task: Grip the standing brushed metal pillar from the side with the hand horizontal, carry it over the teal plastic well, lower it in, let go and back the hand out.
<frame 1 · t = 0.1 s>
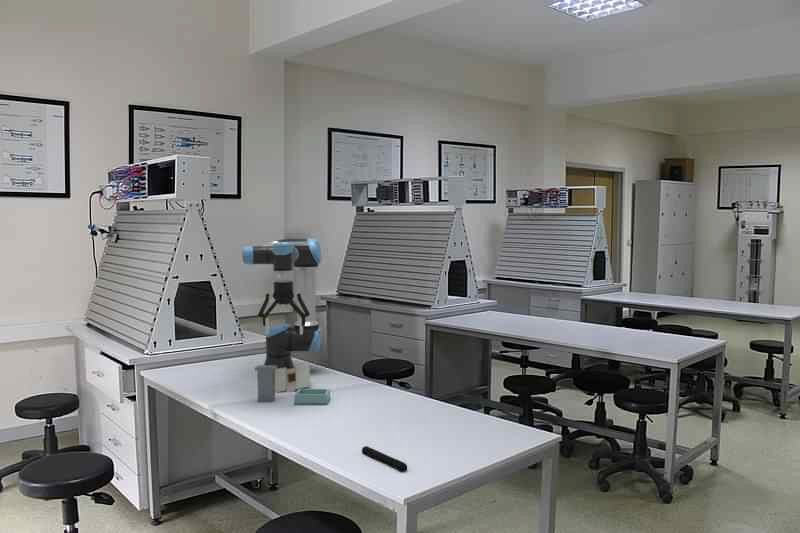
hand: (284, 334, 243), 28 cm above the table, tool pointing down, fingers open, 13 cm apart
wall: (292, 388, 267), on the table
well: (312, 401, 247), on the table
brushed metal pillar: (266, 400, 249), on the table
gadget: (383, 463, 185), on the table
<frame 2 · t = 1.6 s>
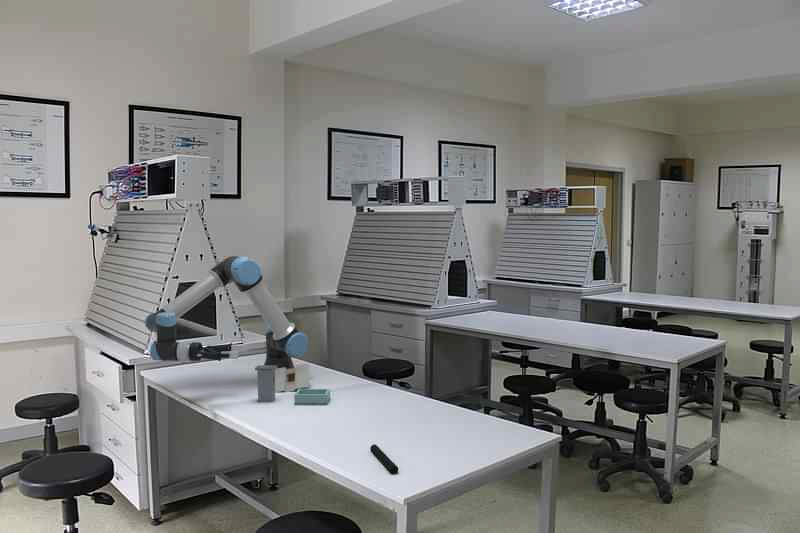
hand: (242, 351, 247), 20 cm above the table, tool horizontal, fingers open, 13 cm apart
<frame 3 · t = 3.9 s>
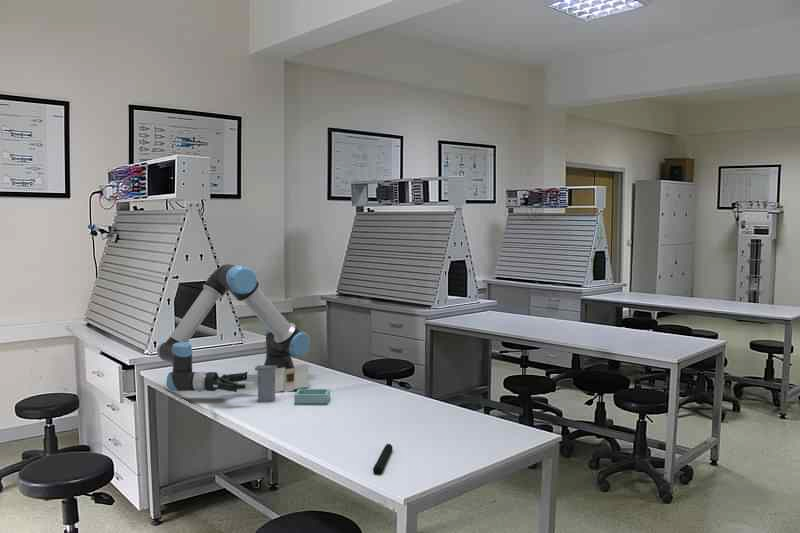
hand: (258, 381, 248), 8 cm above the table, tool horizontal, fingers open, 13 cm apart
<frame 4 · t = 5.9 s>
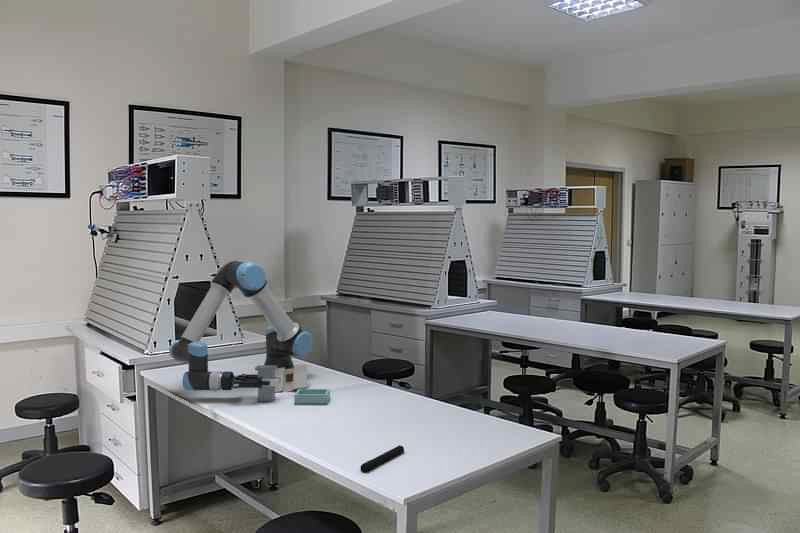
hand: (279, 381, 248), 8 cm above the table, tool horizontal, fingers closed on brushed metal pillar, 4 cm apart
brushed metal pillar: (266, 400, 249), on the table, touching gripper
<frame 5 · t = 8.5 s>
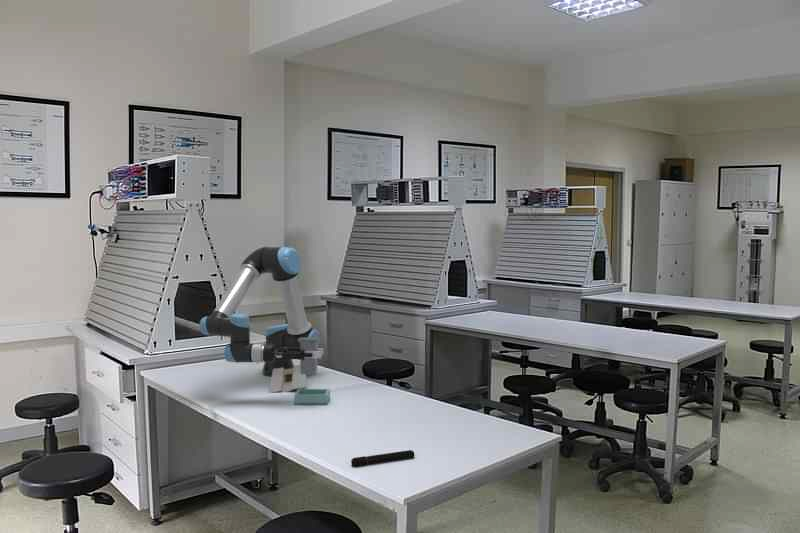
hand: (321, 353, 245), 20 cm above the table, tool horizontal, fingers closed on brushed metal pillar, 4 cm apart
brushed metal pillar: (308, 372, 246), point 12 cm above the table, touching gripper
when the fingers open (9 cm above the table, at t = 11.4 s): brushed metal pillar stays where it is, resting on well.
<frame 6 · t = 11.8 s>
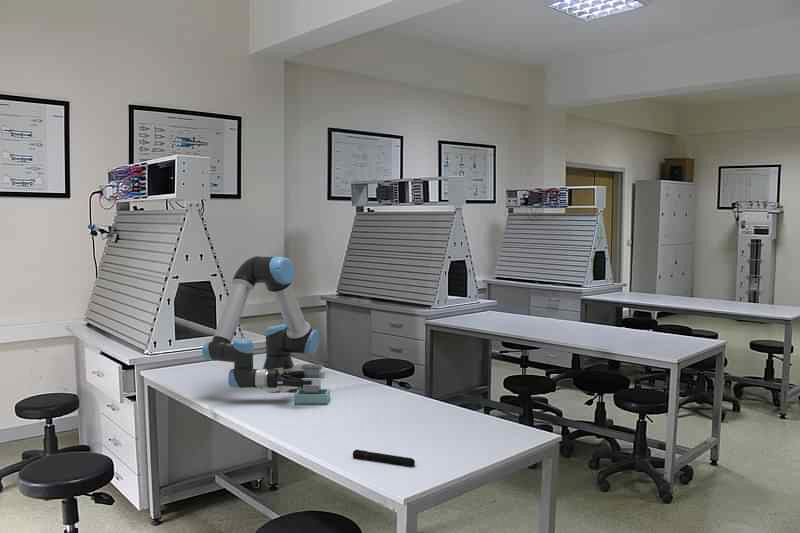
hand: (322, 378, 246), 9 cm above the table, tool horizontal, fingers open, 10 cm apart
brushed metal pillar: (312, 399, 247), point 1 cm above the table, touching well
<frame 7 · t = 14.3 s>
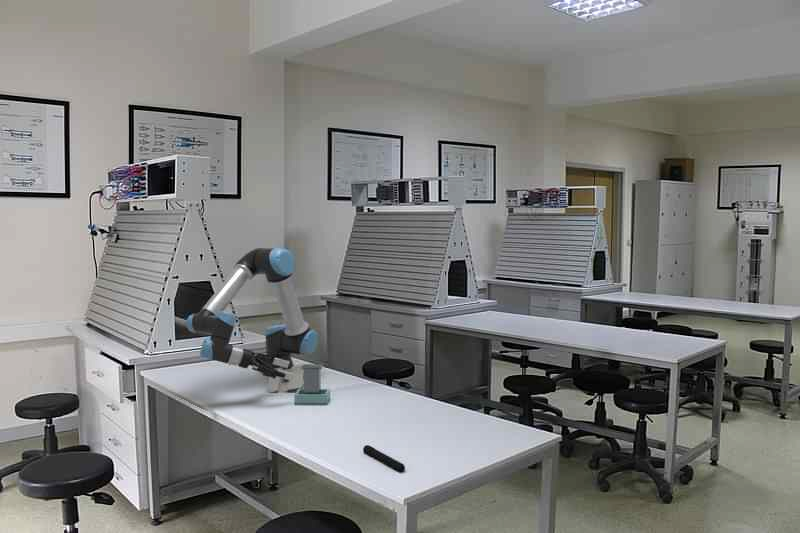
hand: (290, 370, 252), 11 cm above the table, tool tilted 70°, fingers open, 13 cm apart
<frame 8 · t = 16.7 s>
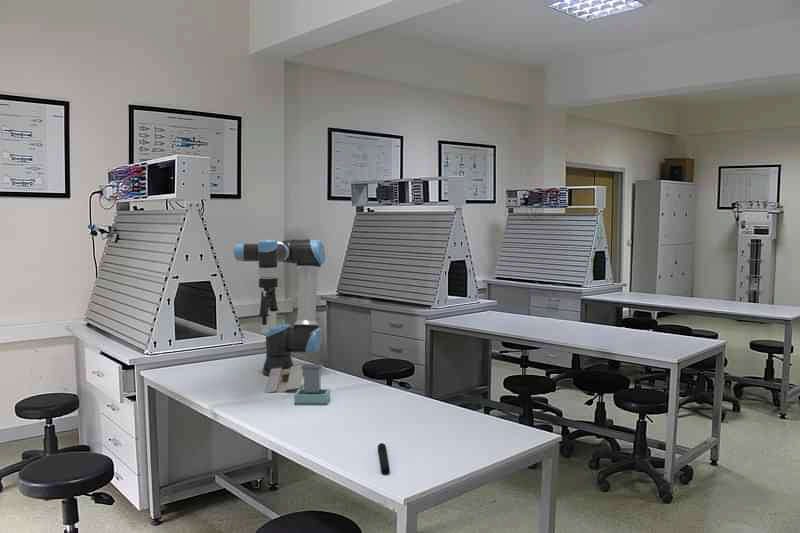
hand: (269, 329, 249), 29 cm above the table, tool pointing down, fingers open, 13 cm apart
at the end: brushed metal pillar inside the target area on the well (0.0 cm from its centre), point 0.8 cm above the well's base; brushed metal pillar tilted 0°; the gripper is holding nothing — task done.
